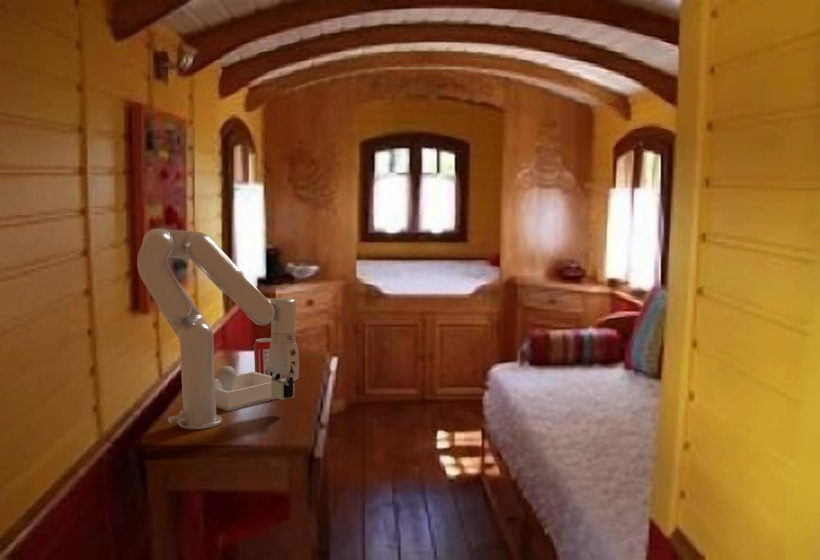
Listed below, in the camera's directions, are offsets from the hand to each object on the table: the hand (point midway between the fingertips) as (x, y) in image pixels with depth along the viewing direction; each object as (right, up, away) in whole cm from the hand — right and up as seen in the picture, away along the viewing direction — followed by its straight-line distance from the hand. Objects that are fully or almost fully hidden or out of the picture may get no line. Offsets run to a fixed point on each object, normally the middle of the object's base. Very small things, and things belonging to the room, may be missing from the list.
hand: (282, 394), depth 245 cm
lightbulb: (-21, -4, +16) cm, 26 cm away
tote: (-17, -4, +19) cm, 25 cm away
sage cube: (0, -1, 0) cm, 1 cm away
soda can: (-13, -1, +45) cm, 47 cm away
